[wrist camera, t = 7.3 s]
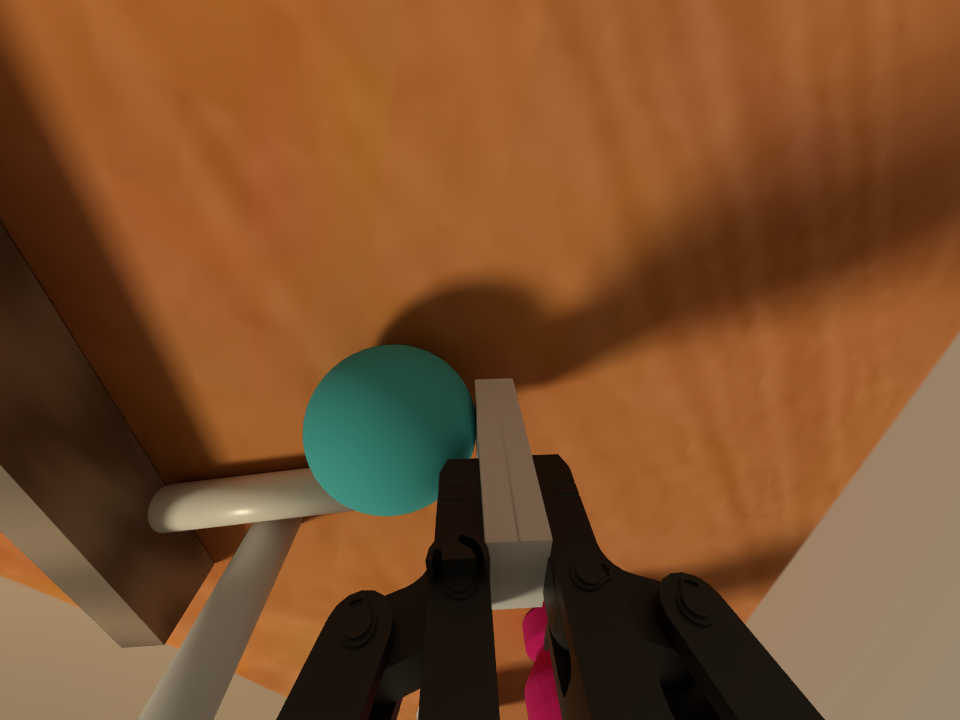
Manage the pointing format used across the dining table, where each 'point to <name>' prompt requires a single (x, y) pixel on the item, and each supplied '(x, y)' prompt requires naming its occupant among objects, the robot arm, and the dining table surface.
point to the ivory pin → (240, 501)
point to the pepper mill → (539, 669)
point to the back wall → (81, 477)
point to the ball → (387, 428)
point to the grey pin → (223, 627)
